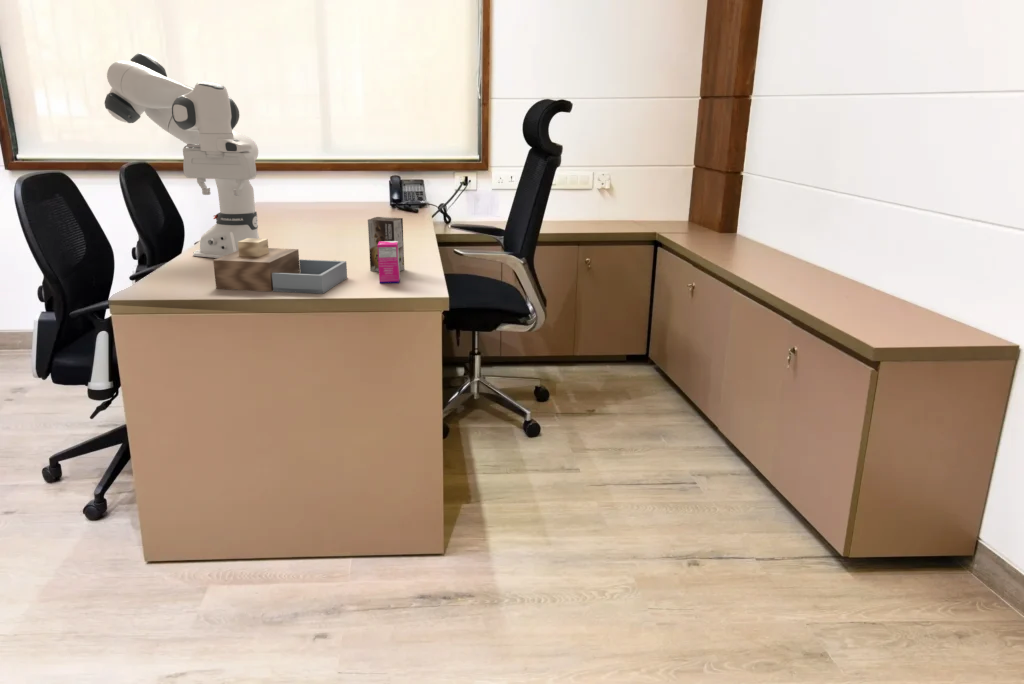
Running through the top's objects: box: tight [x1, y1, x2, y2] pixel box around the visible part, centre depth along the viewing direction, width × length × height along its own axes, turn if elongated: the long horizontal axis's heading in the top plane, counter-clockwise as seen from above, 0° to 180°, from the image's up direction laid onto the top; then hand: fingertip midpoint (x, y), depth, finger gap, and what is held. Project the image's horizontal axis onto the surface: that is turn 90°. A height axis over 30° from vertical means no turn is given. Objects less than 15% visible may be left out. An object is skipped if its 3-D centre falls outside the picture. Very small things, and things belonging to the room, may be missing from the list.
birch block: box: [238, 238, 269, 257], centre depth 212 cm, size 6×6×4 cm
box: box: [272, 258, 348, 295], centre depth 212 cm, size 14×20×5 cm
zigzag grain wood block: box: [212, 247, 300, 292], centre depth 214 cm, size 16×20×8 cm
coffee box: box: [367, 216, 405, 272], centre depth 231 cm, size 9×6×16 cm
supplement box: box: [377, 241, 401, 284], centre depth 217 cm, size 6×6×12 cm
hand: (222, 195), depth 210 cm, fingers open, 8 cm apart
